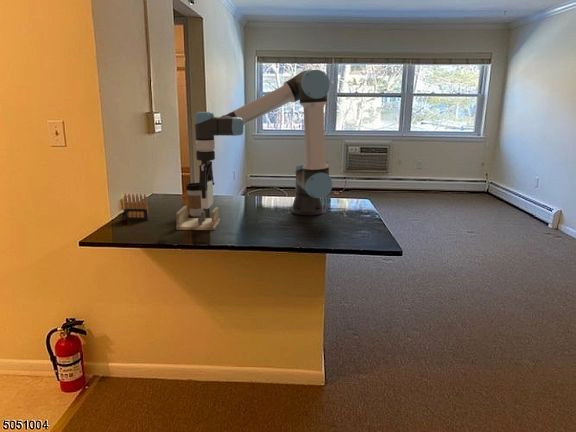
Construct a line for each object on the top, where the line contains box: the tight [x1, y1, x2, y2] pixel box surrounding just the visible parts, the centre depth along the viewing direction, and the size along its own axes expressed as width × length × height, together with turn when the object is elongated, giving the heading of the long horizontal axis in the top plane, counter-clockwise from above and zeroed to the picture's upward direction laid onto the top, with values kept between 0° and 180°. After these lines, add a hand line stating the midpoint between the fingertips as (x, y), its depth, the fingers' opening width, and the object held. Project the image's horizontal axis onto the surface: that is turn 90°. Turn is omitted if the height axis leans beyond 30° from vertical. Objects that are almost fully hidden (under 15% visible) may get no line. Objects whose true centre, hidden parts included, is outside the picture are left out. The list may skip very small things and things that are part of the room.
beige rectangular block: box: [201, 181, 214, 210], centre depth 187 cm, size 3×10×10 cm, turn 178°
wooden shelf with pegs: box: [175, 205, 221, 231], centre depth 190 cm, size 16×14×7 cm
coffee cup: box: [185, 182, 204, 217], centre depth 205 cm, size 8×8×15 cm
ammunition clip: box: [123, 193, 150, 221], centre depth 198 cm, size 11×2×12 cm, turn 88°
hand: (207, 202), depth 188 cm, fingers closed on beige rectangular block, 10 cm apart
